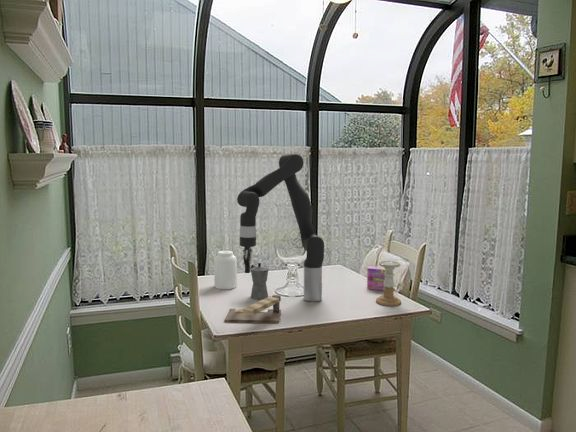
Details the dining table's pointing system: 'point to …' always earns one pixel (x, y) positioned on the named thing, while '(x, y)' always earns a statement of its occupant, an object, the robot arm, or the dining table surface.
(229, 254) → the white jar
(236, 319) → the label board
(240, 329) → the dining table surface
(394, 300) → the candle holder
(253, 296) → the coffeepot
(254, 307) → the swing arm
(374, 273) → the box
